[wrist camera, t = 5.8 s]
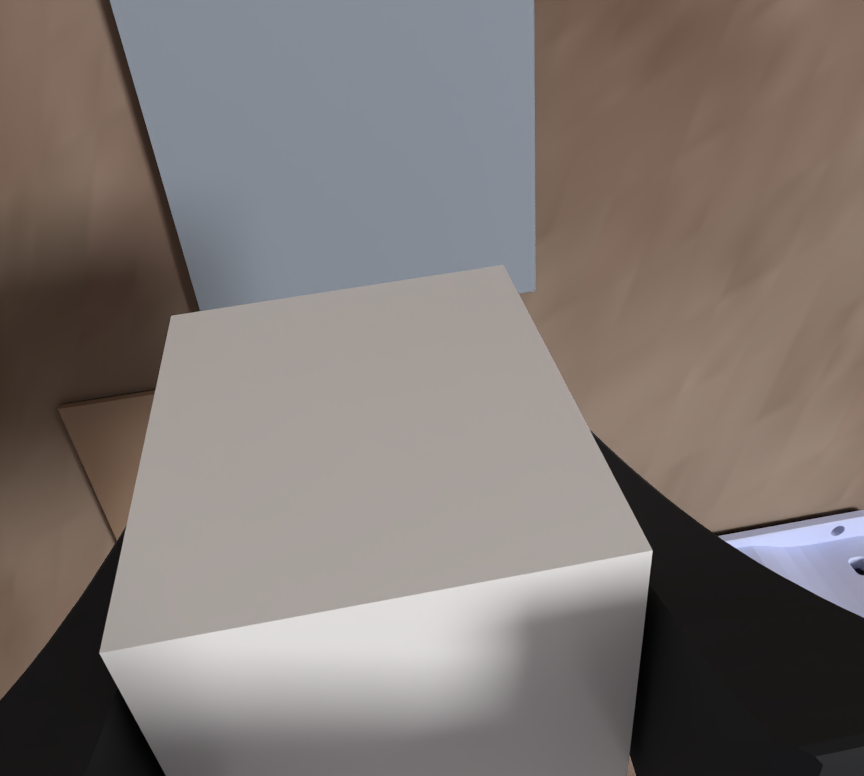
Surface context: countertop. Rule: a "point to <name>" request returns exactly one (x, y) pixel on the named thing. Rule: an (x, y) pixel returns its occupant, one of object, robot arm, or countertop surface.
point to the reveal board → (110, 447)
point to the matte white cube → (376, 546)
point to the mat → (338, 139)
